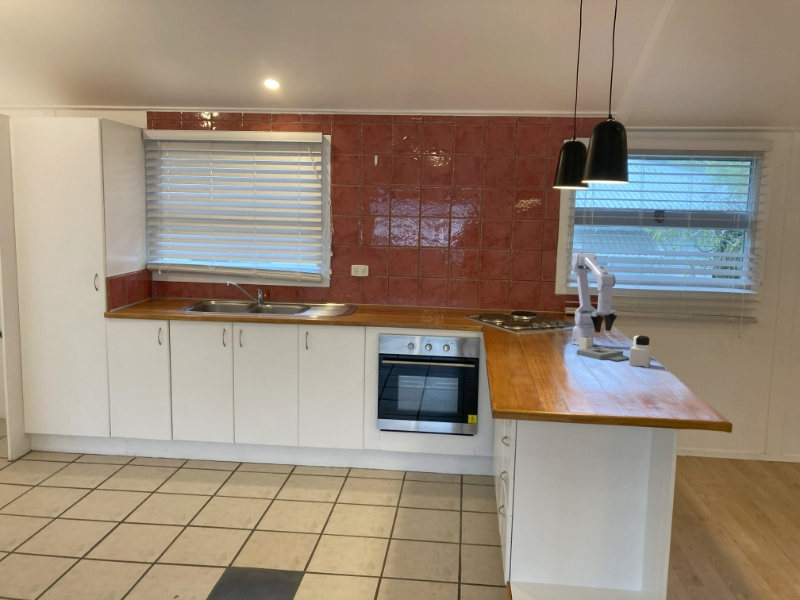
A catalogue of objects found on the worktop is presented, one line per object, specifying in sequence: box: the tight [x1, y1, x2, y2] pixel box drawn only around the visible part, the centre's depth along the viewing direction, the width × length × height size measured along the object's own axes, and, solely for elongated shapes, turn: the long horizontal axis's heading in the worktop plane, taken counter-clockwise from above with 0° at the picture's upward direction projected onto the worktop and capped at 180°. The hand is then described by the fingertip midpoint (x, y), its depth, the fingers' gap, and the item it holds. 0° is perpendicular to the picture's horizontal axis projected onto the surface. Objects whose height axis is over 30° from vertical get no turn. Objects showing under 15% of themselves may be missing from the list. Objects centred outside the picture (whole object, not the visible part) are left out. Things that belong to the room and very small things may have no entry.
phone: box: [605, 356, 630, 363], centre depth 256 cm, size 5×9×1 cm, turn 124°
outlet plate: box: [576, 346, 624, 361], centre depth 264 cm, size 12×16×2 cm
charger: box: [578, 335, 593, 350], centre depth 273 cm, size 4×4×7 cm
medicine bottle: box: [628, 335, 652, 368], centre depth 246 cm, size 7×7×12 cm
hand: (602, 331), depth 270 cm, fingers open, 7 cm apart
